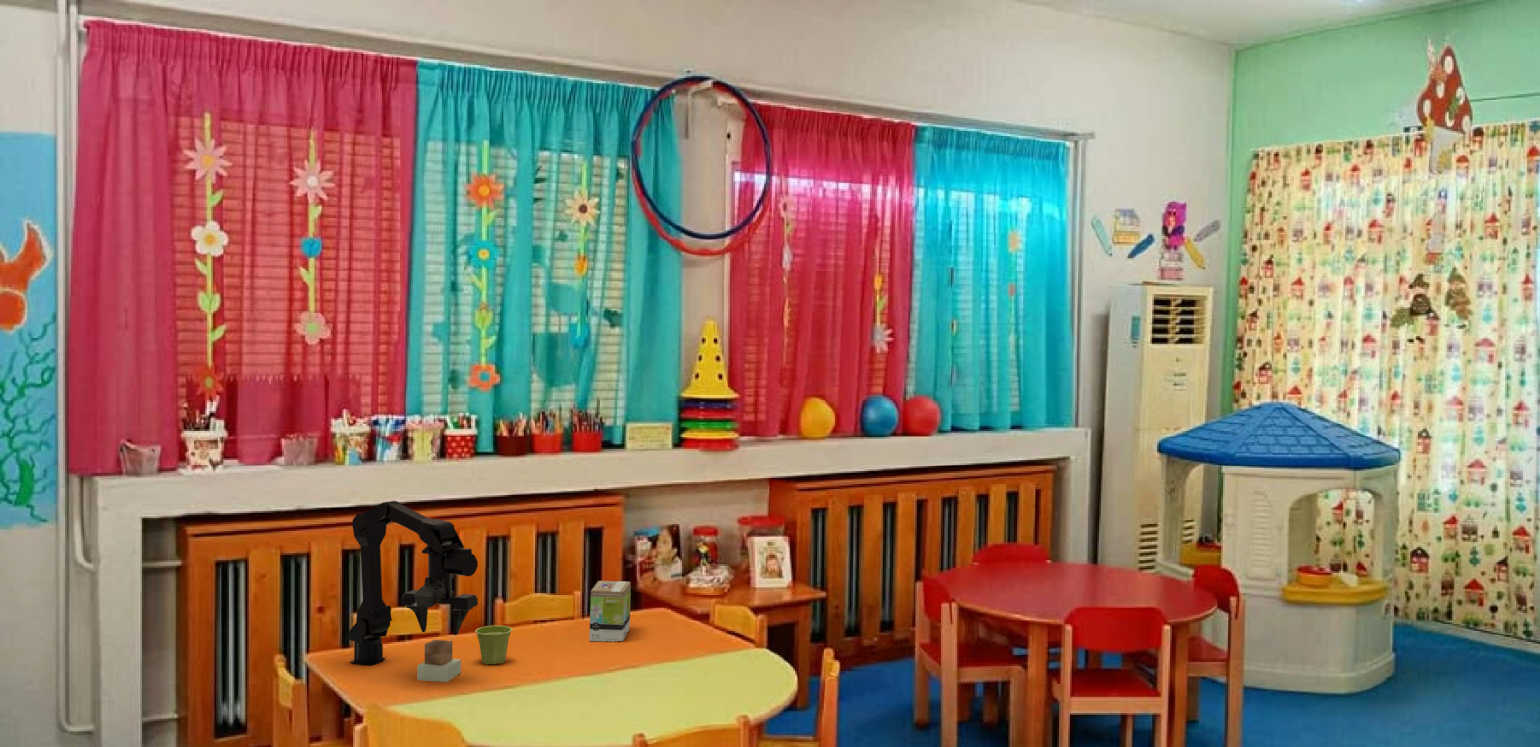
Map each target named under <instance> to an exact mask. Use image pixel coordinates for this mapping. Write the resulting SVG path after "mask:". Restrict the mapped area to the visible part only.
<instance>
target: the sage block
mask: <svg viewBox="0 0 1540 747" xmlns="http://www.w3.org/2000/svg"><path fill="white" fill-rule="evenodd" d="M461 664H462V660H461V659H458V658H457V659H455V658H452V661H451V662H448V663H446V664H444V665H432V664H425V661H423V662H421V663H419V664H418V665H417V669H416V670H417V671H416V672H417V674H416V675H417V677H416V679H417V681H425V682H437V681H439V683H448V682H449V680H450V681H451V680H453V679H455V678H456V677H458V676H459V675H458V674H460V673H461V674H462V671H461V670H462V669H461V668H462V666H461ZM461 674H460V675H461ZM457 675H458V676H457ZM455 676H456V677H455ZM454 677H455V678H454ZM452 678H453V679H452Z"/></svg>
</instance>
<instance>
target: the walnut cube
mask: <svg viewBox="0 0 1540 747" xmlns="http://www.w3.org/2000/svg"><path fill="white" fill-rule="evenodd" d="M452 659H453V640H444V639H443V640H442V639H433V640H431V641H428V642H426V643H424V662H425V664H432V665H444V664H446V663H448V662H451V661H452Z"/></svg>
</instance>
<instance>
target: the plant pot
mask: <svg viewBox="0 0 1540 747" xmlns="http://www.w3.org/2000/svg"><path fill="white" fill-rule="evenodd" d="M512 631H513V629H512V627H510V626H507V625H487V626H481V627H478V628H477V629H475V634H476V636H477V639H478V644H479V651H480V657H481V658H480V659H481V662H482V663H483V664H484V665H488V664H491V665H490V666H494V664H495V665H496V664H500V665H501V663H502V664H503V663H505V662H506V658H507V652H508V646H509V639H510V636H511V632H512ZM492 664H493V665H492Z"/></svg>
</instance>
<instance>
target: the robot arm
mask: <svg viewBox="0 0 1540 747" xmlns="http://www.w3.org/2000/svg"><path fill="white" fill-rule="evenodd" d="M351 522H352V523H351V524H352V531H353V537H354V539H355V540H356V542H357V544H358V545H359V547H360V564H361V568H360V569H361V593H362V595H361V596H362V600H361V603H360V606H358V609H357V611H356V620H355V623H354V625H353V626H351V628H350V630H349V631H348V632H347V635H348V639H349V642H350V641H351V642H354V643H353V645H354V646H353V649H354V650H353V651H354V652H353V654H354V655H353V658H354V659H352V660H350V664H356V665H357V664H358V665H364V666H365V665H367V666H373V665H376V664H378V663H380V662H382V661H384V660H386V657H384V654H383V652H384V651H383V649H384V645H383V643H382V637H387V634H388V630H389V628H391V627H390V626H391V622H392V621H393V619H392V614H391V612H392V606H390V605H387V604H386V603H385V601H384V599H383V584H382V583H383V582H382V578H383V577H382V558H381V556H382V555H381V554H382V553H381V545H382V542H383V541H384V538H385V536H386V534H387V525H389V524H390V523H392V522H394V523H396V524H398V525H400V526H402V527H403V528H406V529H408V530H409V531H411V532H413V533H415V534H416V535H418V537H419V539H420V541H421V542H423V543H424V544H425V545H426V546H425V547H424V549H422V550H421V553H422V554H424V555H428V556H427V566H428V567H427V568H428V569H427V572H428V573H427V576H425V579H424V584H423V585H422V586H420V588H419V589H412V590H410V591H407V592H404V593H403V595H402V597H401V605H404V606H406V608H407V609H410V610H411V611H412V612H413V613H414V615H415V617H416V620H417V622H418V626H419V627H420V630H421V632H422V633H425V632H427V624H428V623H427V622H428V611H429V608H432V607H434V606H435V605H436V604H445V605H452V607H453V609H452V610H451V613H452V614H453V635H454V636H457V635H458V634H459V632H460V630H461V627H462V625H463V623H464V620H465V618H466V616H467V615H468V613H469V611H470V610H472V609H473V608H475V607H477V606H478V604H479V601H478V600H479V599H478V597H477V595H476V594H470V593H461V594H459V595H455V591H454V590H452V580H454V579H455V576H456V575H457V576H463V577H472V576H473V575H474V574H475V573H476V571H477V569H478V566H479V565H478V562H479V561H478V559H477V557H476V555H475V554H473V551H472V548H468V547H467V548H465V546H464V544H463V541H462V540H461V538H460V536H459V534H458V532H457V530H456V528H455V525H454V524H453V523H452V522H451V521H449V520H448V521H447V520H443V519H438V518H430V517H427V516H425V515H423V514H421V513H419V512H417V511H415V510H413V509H410V507H407V506H405V505H403V504H401V503H400V501H396V500H390V501H383V502H381V503H379V504H378V505H377V506H374V507H373V508H371V509H368V510H366V511H364V512H360V513H357V514H355V516H354V517H353V518H352V521H351ZM454 595H455V596H454Z"/></svg>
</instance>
